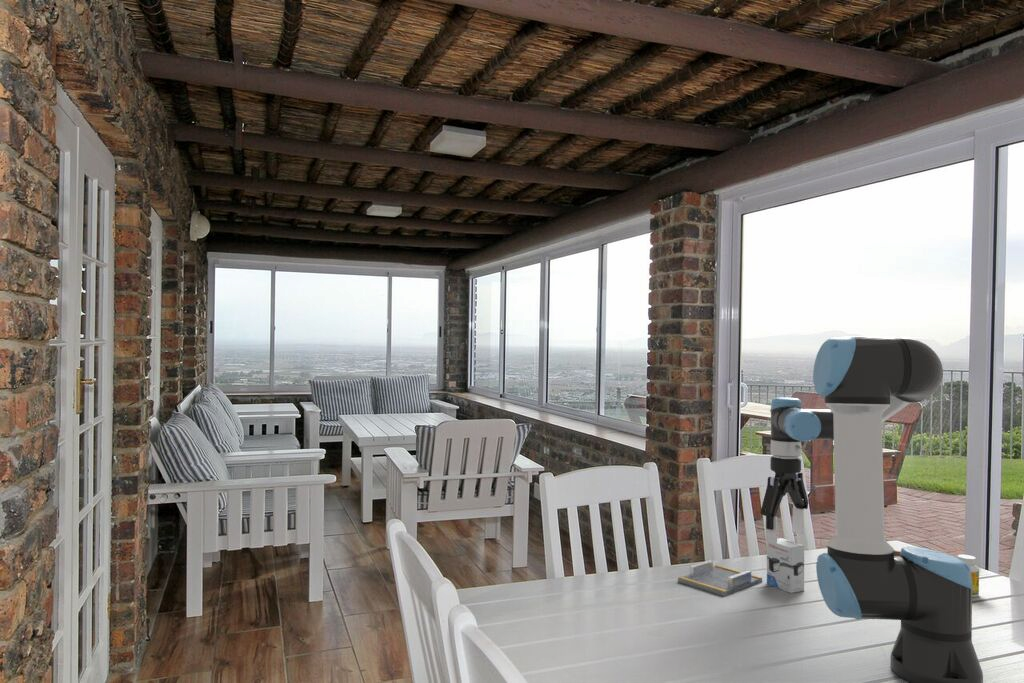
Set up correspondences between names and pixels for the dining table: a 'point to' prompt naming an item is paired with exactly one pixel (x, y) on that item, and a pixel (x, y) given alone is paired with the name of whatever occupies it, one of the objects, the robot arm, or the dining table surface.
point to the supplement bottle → (972, 572)
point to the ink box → (785, 565)
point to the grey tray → (718, 578)
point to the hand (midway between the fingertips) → (784, 537)
